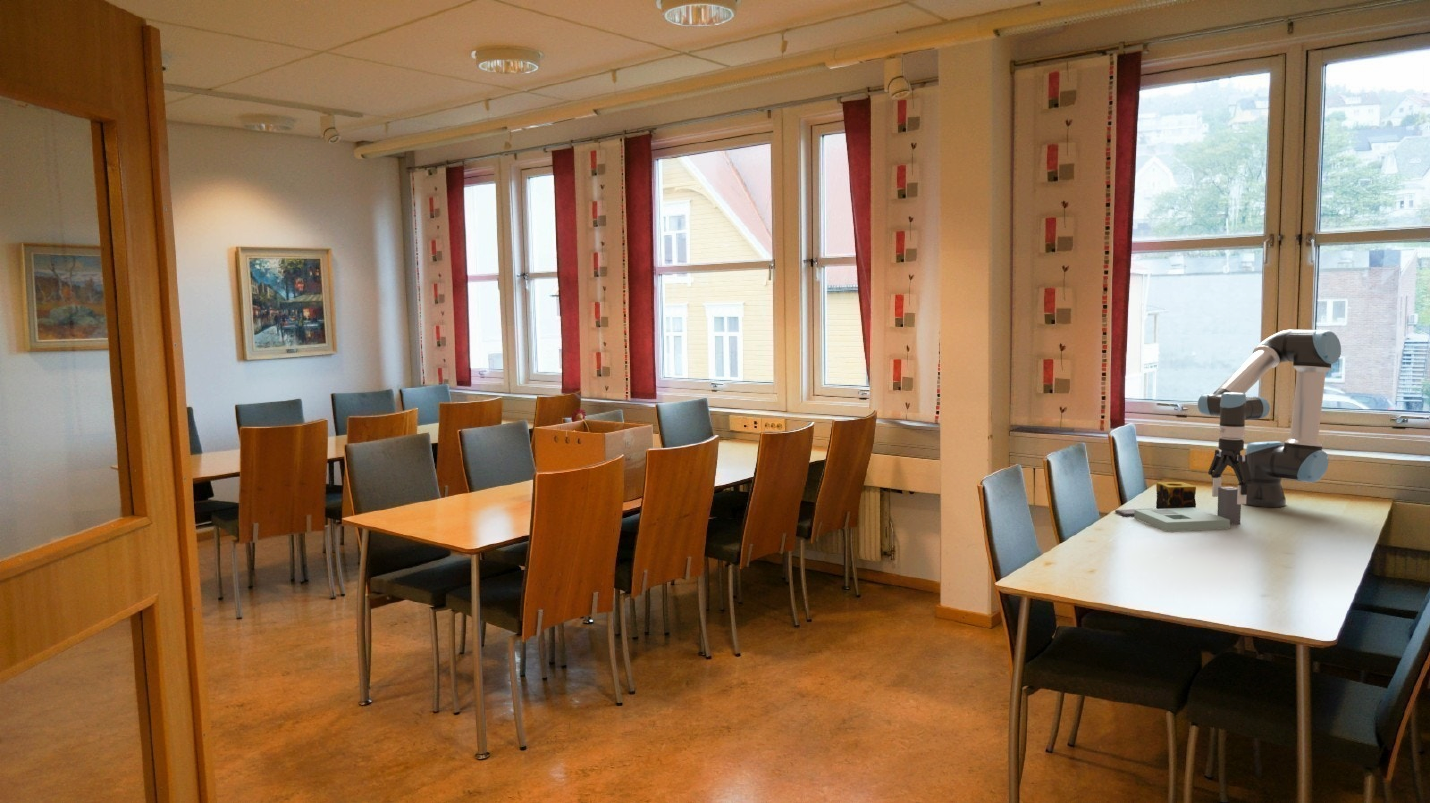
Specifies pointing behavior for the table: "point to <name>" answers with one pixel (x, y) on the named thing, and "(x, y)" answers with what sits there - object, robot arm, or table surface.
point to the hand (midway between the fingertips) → (1228, 500)
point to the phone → (1127, 512)
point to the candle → (1175, 495)
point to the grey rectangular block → (1229, 504)
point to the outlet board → (1182, 519)
